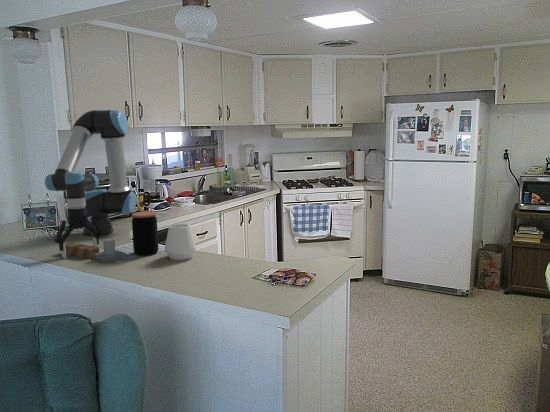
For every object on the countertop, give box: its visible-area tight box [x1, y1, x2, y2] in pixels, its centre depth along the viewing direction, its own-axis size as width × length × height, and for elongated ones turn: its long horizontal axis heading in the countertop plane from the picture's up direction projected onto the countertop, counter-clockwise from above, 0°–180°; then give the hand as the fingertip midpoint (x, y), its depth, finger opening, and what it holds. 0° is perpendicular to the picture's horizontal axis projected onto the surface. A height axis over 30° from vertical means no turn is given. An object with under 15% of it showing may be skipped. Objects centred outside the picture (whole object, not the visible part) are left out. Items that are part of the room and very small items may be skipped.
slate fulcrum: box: [93, 238, 127, 264], centre depth 196 cm, size 10×10×8 cm
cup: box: [164, 223, 197, 261], centre depth 196 cm, size 13×13×14 cm
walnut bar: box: [65, 242, 100, 260], centre depth 202 cm, size 18×5×4 cm, turn 62°
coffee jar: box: [131, 211, 159, 257], centre depth 203 cm, size 11×11×18 cm
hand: (80, 254), depth 202 cm, fingers open, 13 cm apart
